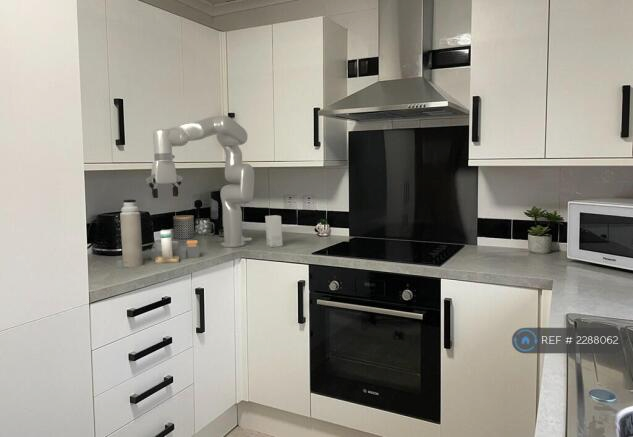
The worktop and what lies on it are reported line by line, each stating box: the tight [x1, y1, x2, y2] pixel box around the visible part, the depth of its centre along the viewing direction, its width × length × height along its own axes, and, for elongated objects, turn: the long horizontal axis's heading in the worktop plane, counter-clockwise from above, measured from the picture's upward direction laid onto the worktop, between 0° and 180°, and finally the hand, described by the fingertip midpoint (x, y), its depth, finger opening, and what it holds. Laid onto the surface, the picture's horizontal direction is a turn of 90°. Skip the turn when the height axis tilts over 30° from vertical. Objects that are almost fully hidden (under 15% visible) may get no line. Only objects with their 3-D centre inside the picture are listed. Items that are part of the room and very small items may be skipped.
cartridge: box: [159, 229, 173, 259], centre depth 223 cm, size 5×5×13 cm
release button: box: [186, 239, 198, 247], centre depth 234 cm, size 5×5×6 cm
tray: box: [154, 256, 180, 265], centre depth 223 cm, size 10×8×2 cm
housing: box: [150, 240, 200, 261], centre depth 232 cm, size 21×10×7 cm, turn 104°
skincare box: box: [264, 214, 284, 248], centre depth 260 cm, size 8×7×16 cm
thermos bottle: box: [119, 199, 144, 268], centre depth 215 cm, size 8×8×28 cm
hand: (165, 197), depth 223 cm, fingers open, 9 cm apart
